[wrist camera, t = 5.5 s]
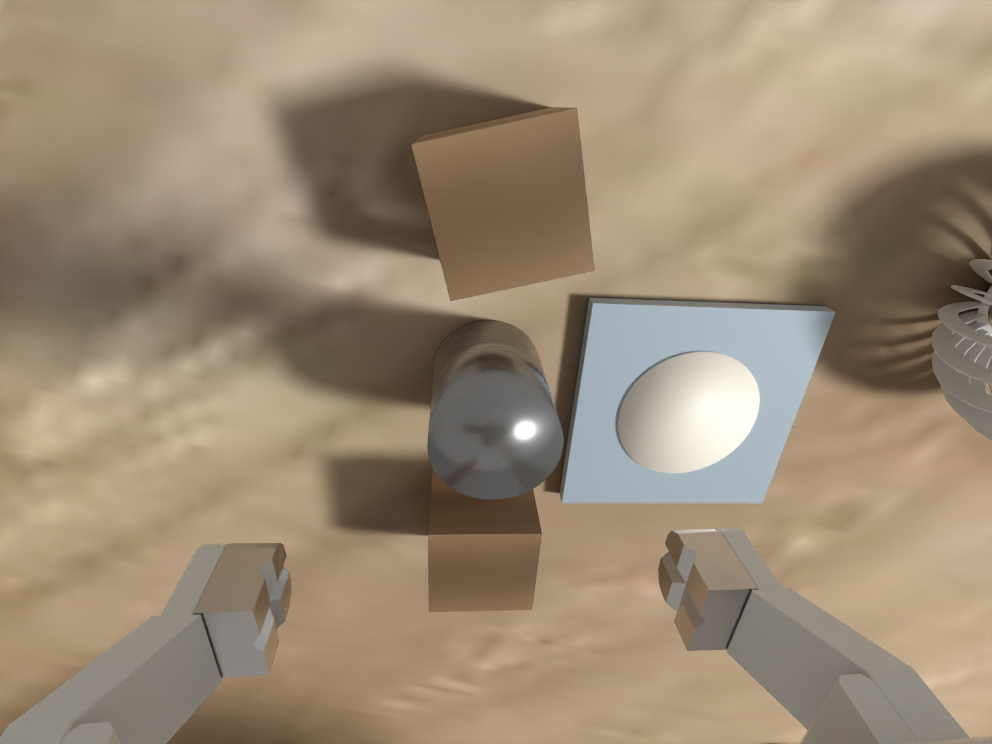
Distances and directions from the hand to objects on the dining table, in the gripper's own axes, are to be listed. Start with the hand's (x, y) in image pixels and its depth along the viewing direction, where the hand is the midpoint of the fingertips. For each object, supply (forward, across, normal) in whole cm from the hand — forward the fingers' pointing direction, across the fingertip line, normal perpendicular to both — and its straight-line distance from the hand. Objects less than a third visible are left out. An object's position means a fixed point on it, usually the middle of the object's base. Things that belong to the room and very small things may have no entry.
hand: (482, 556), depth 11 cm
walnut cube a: (+9, -1, +7) cm, 12 cm away
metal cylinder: (+9, -1, 0) cm, 9 cm away
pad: (+9, -9, +2) cm, 13 cm away
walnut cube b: (+10, -1, -6) cm, 11 cm away
